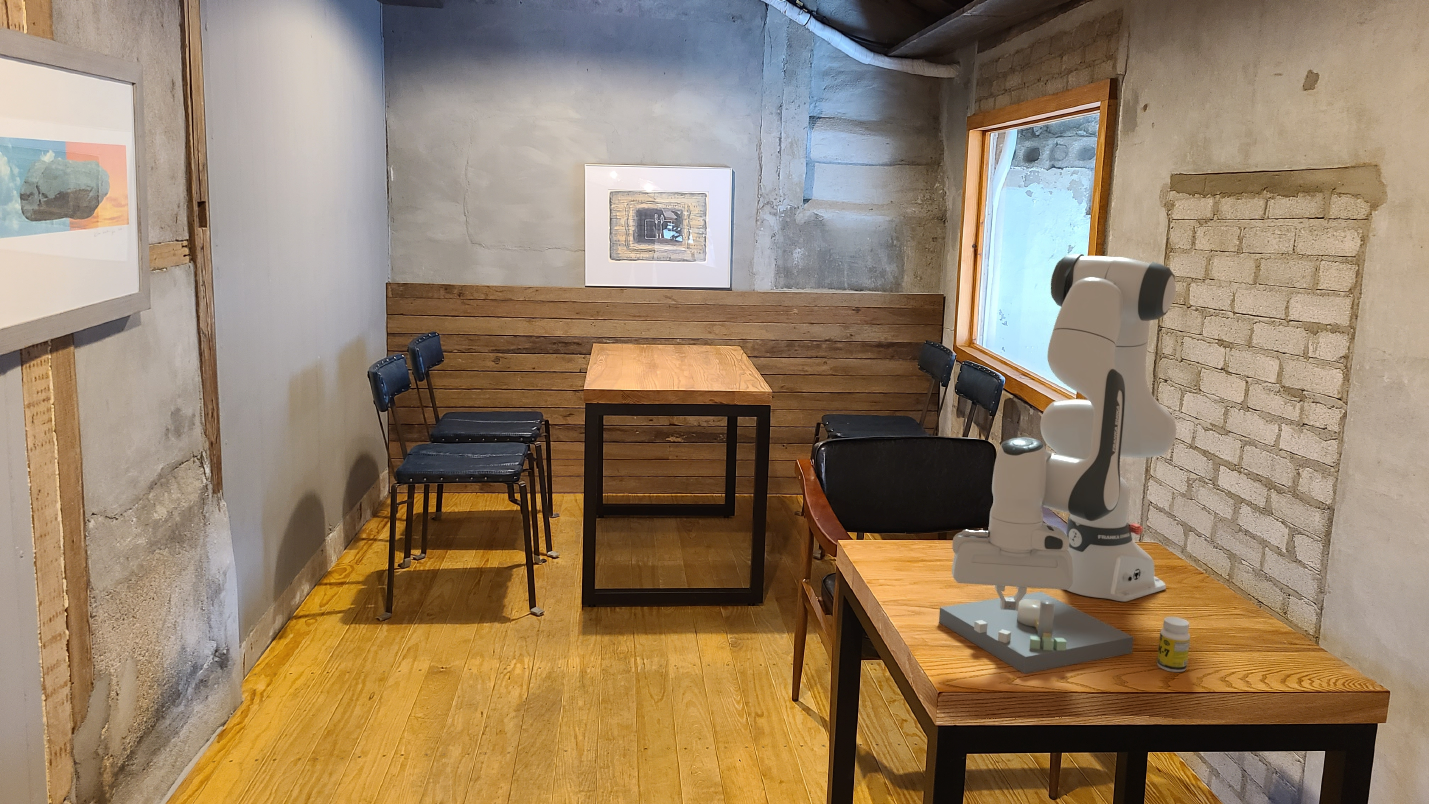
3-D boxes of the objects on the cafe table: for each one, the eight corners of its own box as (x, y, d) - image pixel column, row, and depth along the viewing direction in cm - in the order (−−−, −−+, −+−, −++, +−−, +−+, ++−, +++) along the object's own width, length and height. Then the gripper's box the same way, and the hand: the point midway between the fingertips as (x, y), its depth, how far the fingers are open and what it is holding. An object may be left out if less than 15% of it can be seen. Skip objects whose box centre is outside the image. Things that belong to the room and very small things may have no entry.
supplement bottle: (1151, 661, 190) (1156, 615, 189) (1177, 661, 191) (1182, 615, 189) (1165, 673, 186) (1170, 626, 184) (1191, 672, 186) (1197, 626, 184)
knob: (1013, 613, 202) (1016, 580, 201) (1046, 615, 201) (1049, 581, 200) (1029, 641, 189) (1032, 605, 188) (1064, 643, 189) (1068, 607, 188)
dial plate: (1039, 606, 215) (1041, 583, 214) (1133, 653, 193) (1135, 629, 192) (935, 623, 205) (937, 599, 204) (1021, 675, 183) (1023, 649, 182)
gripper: (955, 534, 186) (950, 611, 189) (1079, 541, 184) (1072, 619, 187) (951, 523, 192) (946, 598, 195) (1071, 530, 190) (1064, 605, 193)
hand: (1008, 608), depth 191 cm, fingers closed
